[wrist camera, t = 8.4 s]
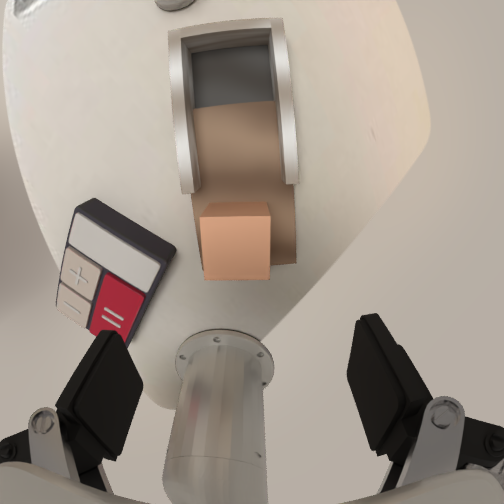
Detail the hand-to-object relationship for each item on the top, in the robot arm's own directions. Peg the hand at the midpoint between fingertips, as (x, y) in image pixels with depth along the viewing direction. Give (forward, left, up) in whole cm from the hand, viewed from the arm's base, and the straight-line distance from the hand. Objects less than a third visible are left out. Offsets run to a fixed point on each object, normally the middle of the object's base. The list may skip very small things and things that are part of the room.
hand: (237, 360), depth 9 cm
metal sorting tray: (+7, 0, -18) cm, 19 cm away
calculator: (-5, +16, -19) cm, 25 cm away
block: (0, +1, -17) cm, 17 cm away
